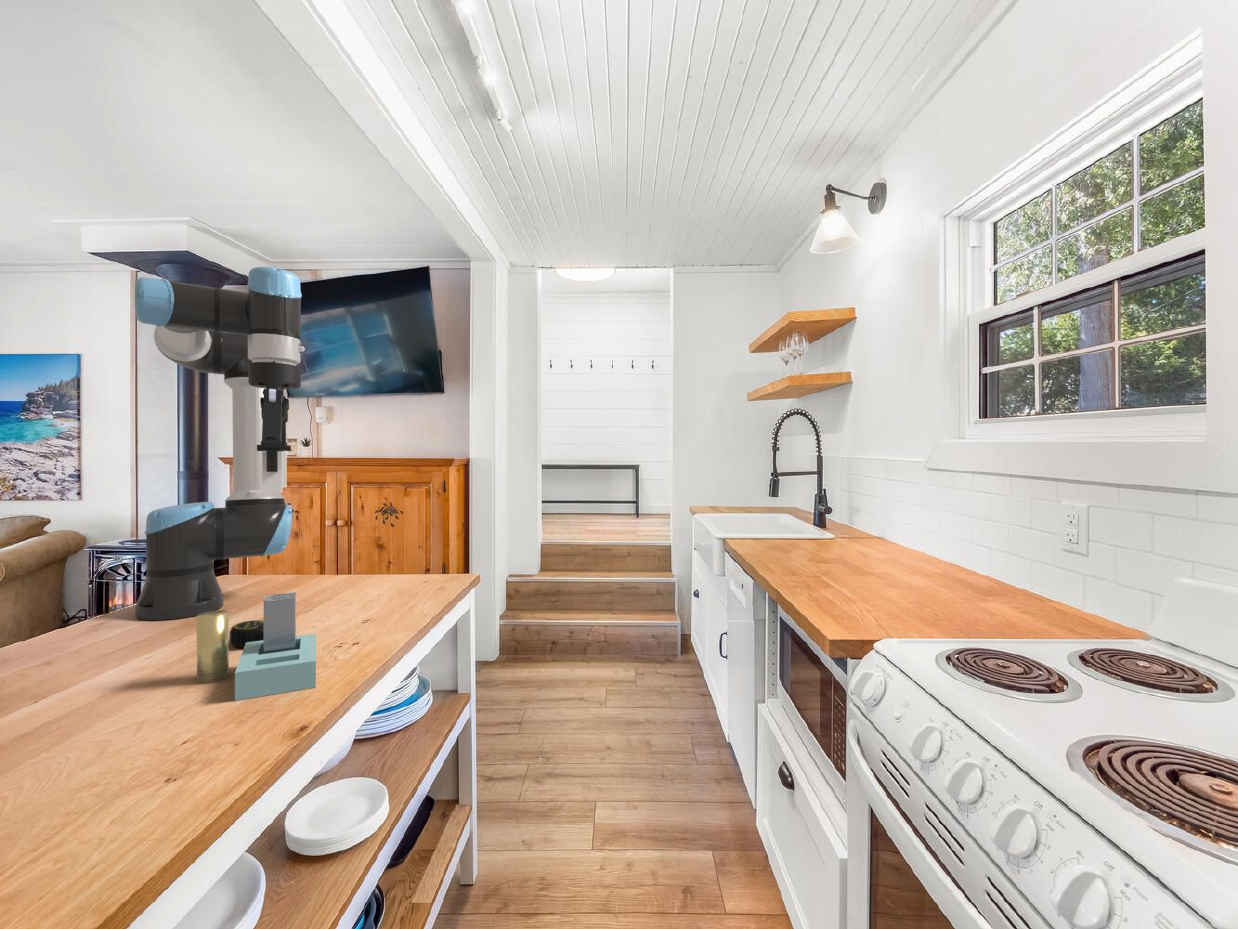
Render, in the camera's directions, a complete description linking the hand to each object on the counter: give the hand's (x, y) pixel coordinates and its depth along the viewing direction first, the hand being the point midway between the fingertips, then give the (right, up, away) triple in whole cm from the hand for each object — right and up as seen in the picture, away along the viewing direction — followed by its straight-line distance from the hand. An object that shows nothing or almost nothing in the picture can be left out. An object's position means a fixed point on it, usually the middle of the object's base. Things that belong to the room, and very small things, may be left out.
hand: (275, 490), depth 94 cm
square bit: (+4, -29, -5) cm, 29 cm away
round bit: (-5, -29, -8) cm, 30 cm away
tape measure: (-9, -29, +8) cm, 31 cm away
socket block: (+5, -29, -7) cm, 30 cm away
